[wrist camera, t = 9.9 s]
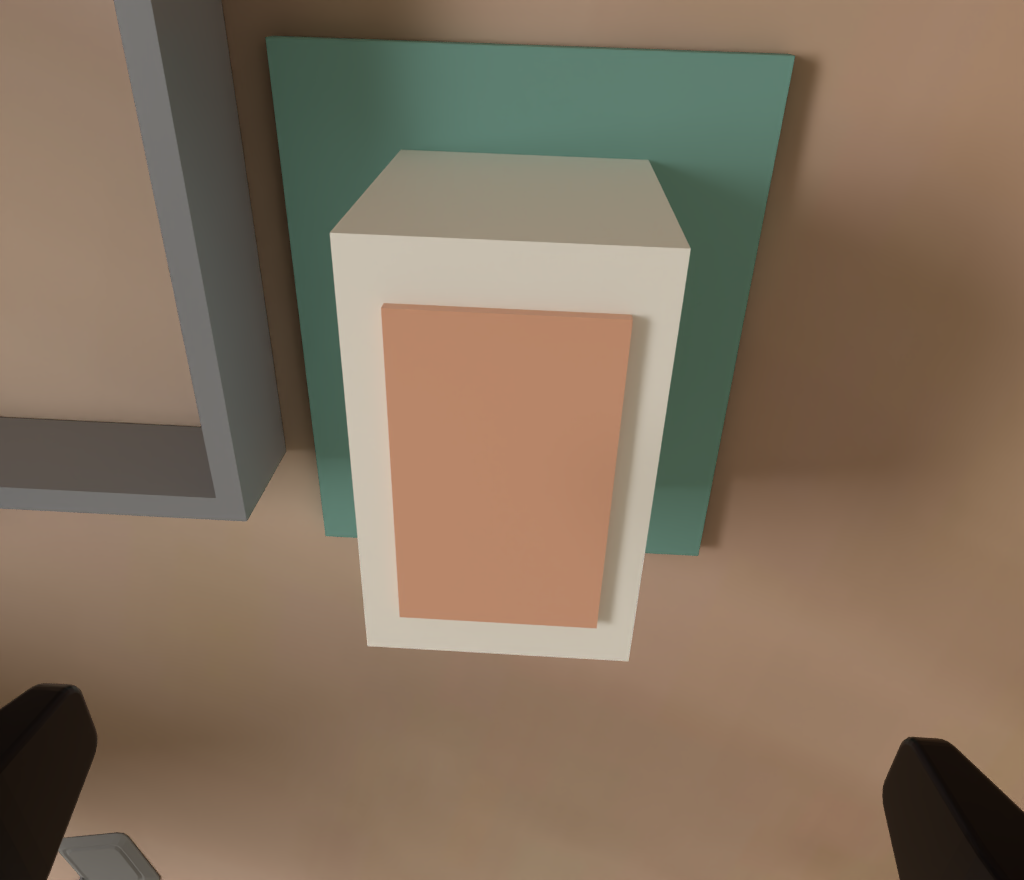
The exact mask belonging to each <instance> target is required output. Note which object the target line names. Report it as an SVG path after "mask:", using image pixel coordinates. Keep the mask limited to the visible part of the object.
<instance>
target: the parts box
mask: <svg viewBox="0 0 1024 880" xmlns="http://www.w3.org/2000/svg"><path fill="white" fill-rule="evenodd" d="M330 242H331V253H332V264H333V275H334V286H335V297H336V308H337V319H338V330H339V341H340V352H341V362H342V373H343V384H344V395H345V406H346V417H347V428H348V439H349V450H350V461H351V472H352V483H353V493H354V504H355V515H356V526H357V537H358V548H359V559H360V570H361V581H362V592H363V603H364V613H365V624H366V635H367V646H375V647H392V648H409V649H426V650H444V651H461V652H478V653H495V654H512V655H529V656H546V657H563V658H581V659H598V660H615V661H629V655H630V648H631V641H632V635H633V628H634V621H635V615H636V608H637V602H638V595H639V588H640V582H641V575H642V568H643V562H644V555H645V549H646V542H647V535H648V529H649V522H650V516H651V509H652V502H653V496H654V489H655V482H656V476H657V469H658V463H659V456H660V449H661V443H662V436H663V429H664V423H665V416H666V410H667V403H668V396H669V390H670V383H671V376H672V370H673V363H674V357H675V350H676V343H677V337H678V330H679V323H680V317H681V310H682V304H683V297H684V290H685V284H686V277H687V270H688V264H689V257H690V251H691V248H690V246H689V244H688V242H687V240H686V238H685V235H684V233H683V231H682V229H681V227H680V225H679V223H678V221H677V219H676V217H675V214H674V212H673V210H672V208H671V206H670V204H669V202H668V200H667V198H666V196H665V193H664V191H663V189H662V187H661V185H660V183H659V181H658V179H657V177H656V175H655V172H654V170H653V168H652V166H651V164H650V162H649V160H639V159H614V158H590V157H566V156H542V155H518V154H493V153H469V152H445V151H421V150H400V151H399V152H398V154H397V155H396V156H395V157H394V158H393V159H392V161H391V162H390V163H389V164H388V165H387V166H386V168H385V169H384V170H383V171H382V172H381V173H380V175H379V176H378V177H377V178H376V179H375V180H374V182H373V183H372V184H371V185H370V186H369V187H368V189H367V190H366V191H365V192H364V193H363V194H362V196H361V197H360V198H359V199H358V200H357V201H356V203H355V204H354V205H353V206H352V207H351V208H350V210H349V211H348V212H347V213H346V214H345V215H344V217H343V218H342V219H341V220H340V221H339V222H338V224H337V225H336V226H335V227H334V228H333V229H332V231H331V232H330Z"/></svg>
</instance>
